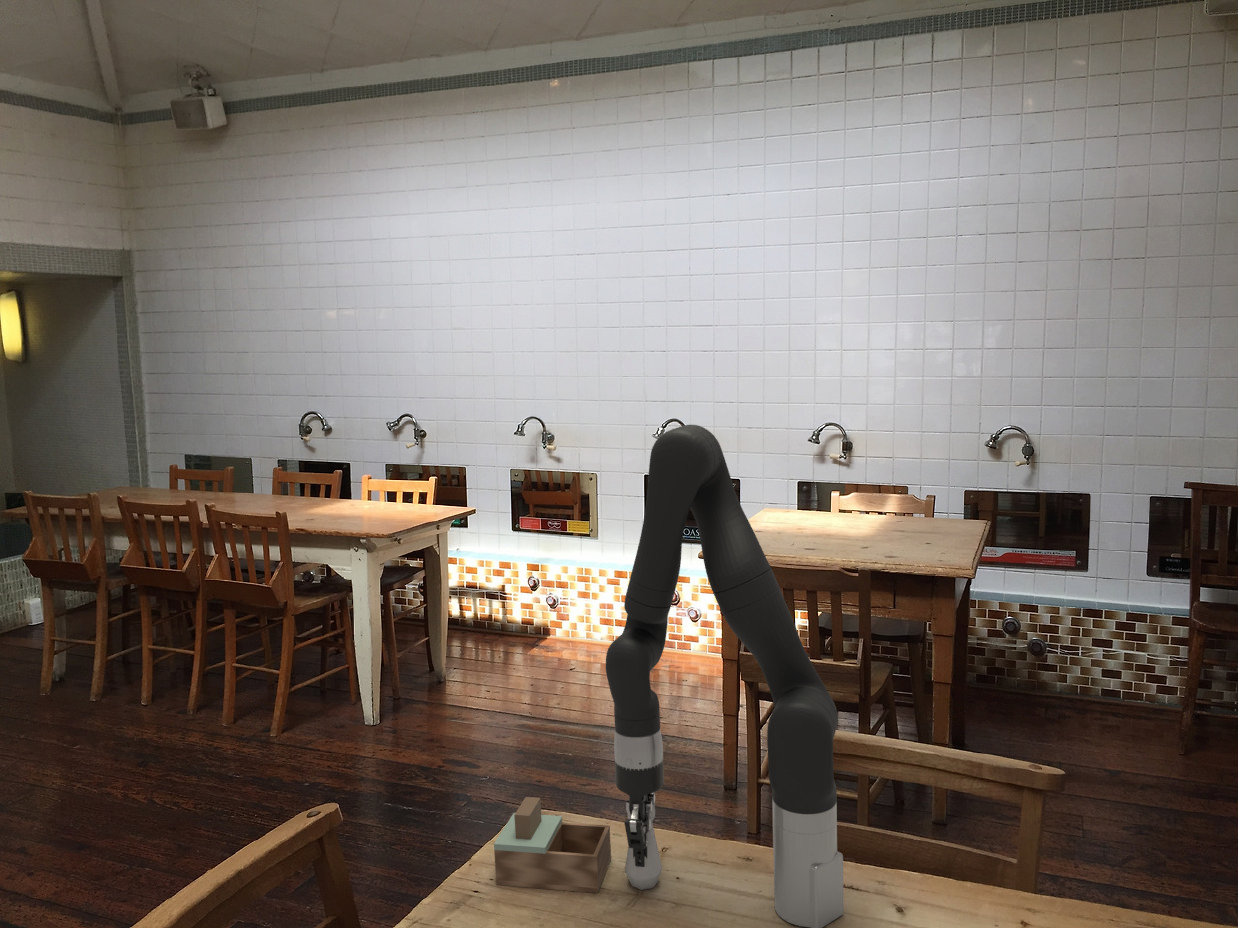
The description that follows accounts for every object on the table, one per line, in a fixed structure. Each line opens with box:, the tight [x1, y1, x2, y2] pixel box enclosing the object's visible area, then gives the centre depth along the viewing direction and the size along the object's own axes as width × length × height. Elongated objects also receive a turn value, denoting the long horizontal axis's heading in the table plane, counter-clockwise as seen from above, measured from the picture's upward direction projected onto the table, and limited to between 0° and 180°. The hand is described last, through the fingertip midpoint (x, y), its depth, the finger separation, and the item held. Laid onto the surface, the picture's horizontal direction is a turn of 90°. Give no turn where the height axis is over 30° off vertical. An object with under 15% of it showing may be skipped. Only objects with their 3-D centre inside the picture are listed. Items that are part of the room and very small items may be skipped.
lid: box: [493, 796, 563, 854], centre depth 151 cm, size 8×10×5 cm
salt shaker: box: [624, 805, 663, 891], centre depth 147 cm, size 6×6×13 cm
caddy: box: [493, 821, 612, 894], centre depth 151 cm, size 17×10×6 cm, turn 78°
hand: (643, 860), depth 147 cm, fingers closed on salt shaker, 3 cm apart
